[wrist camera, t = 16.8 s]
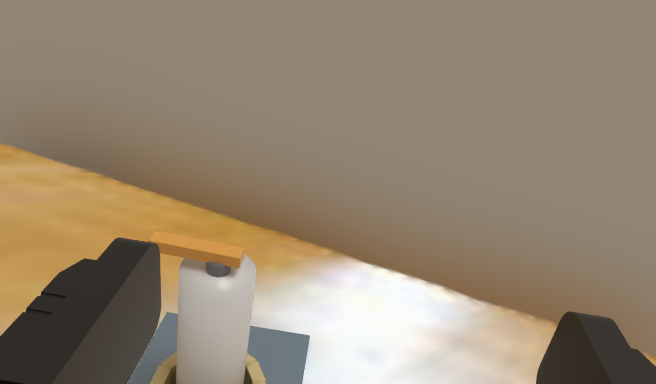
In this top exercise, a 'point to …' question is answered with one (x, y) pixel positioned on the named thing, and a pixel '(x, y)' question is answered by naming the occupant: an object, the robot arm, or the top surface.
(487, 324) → the top surface
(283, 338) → the socket plate
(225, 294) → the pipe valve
